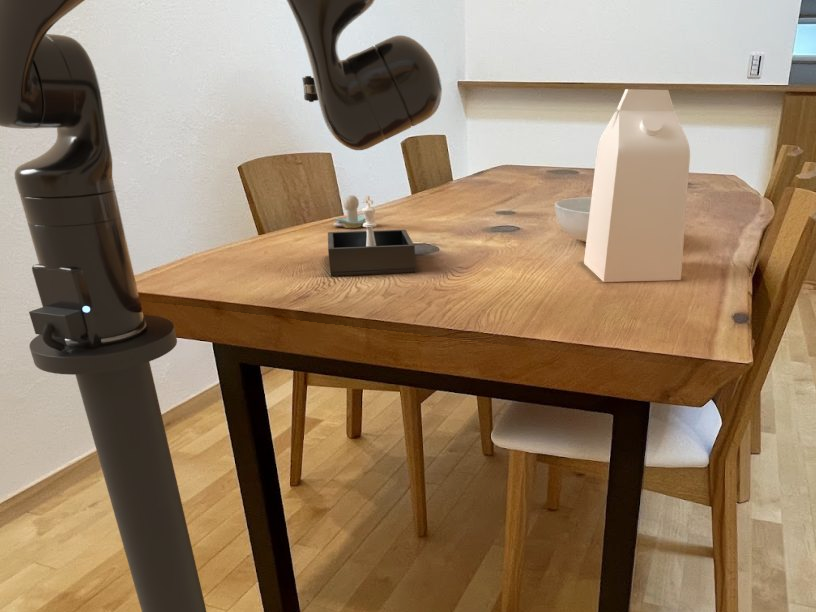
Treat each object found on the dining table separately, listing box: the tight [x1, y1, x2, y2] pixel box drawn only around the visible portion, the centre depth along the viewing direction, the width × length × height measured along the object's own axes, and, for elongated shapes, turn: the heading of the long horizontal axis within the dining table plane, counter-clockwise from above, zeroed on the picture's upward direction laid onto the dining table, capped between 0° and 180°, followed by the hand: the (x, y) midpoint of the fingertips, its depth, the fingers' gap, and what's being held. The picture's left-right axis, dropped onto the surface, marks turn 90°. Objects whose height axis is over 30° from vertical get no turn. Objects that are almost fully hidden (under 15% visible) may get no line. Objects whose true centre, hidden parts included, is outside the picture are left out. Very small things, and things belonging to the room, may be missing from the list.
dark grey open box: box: [327, 229, 417, 277], centre depth 104 cm, size 13×13×4 cm
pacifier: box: [332, 194, 366, 229], centre depth 132 cm, size 7×6×6 cm
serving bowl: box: [554, 196, 592, 243], centre depth 121 cm, size 21×21×7 cm
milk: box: [583, 88, 691, 283], centre depth 98 cm, size 12×12×26 cm
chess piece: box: [361, 195, 378, 247], centre depth 103 cm, size 5×5×10 cm
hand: (361, 89), depth 86 cm, fingers open, 8 cm apart
